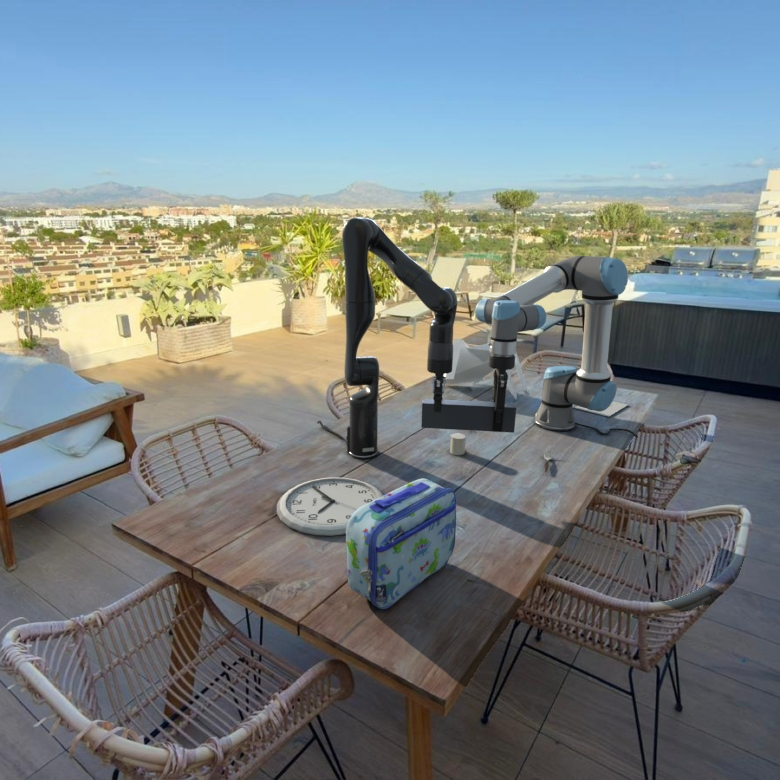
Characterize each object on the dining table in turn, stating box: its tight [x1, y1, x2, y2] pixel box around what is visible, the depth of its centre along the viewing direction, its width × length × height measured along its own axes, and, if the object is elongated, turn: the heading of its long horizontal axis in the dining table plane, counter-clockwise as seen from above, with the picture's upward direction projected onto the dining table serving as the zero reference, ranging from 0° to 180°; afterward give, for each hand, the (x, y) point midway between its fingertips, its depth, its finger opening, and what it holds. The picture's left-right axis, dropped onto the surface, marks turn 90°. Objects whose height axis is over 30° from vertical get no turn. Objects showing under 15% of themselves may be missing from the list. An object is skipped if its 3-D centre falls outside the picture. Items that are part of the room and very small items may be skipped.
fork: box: [543, 448, 554, 473], centre depth 170 cm, size 3×16×2 cm, turn 160°
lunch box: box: [345, 477, 457, 610], centre depth 110 cm, size 26×11×21 cm, turn 134°
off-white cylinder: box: [449, 432, 467, 456], centre depth 177 cm, size 5×5×6 cm
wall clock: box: [276, 476, 385, 537], centre depth 142 cm, size 30×2×30 cm
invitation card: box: [573, 400, 629, 418], centre depth 226 cm, size 21×1×15 cm
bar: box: [421, 398, 517, 434], centre depth 160 cm, size 28×4×8 cm, turn 83°
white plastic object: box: [444, 338, 531, 400], centre depth 245 cm, size 37×45×31 cm
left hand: (437, 407), depth 160 cm, fingers open, 8 cm apart
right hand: (496, 428), depth 160 cm, fingers closed on bar, 4 cm apart
